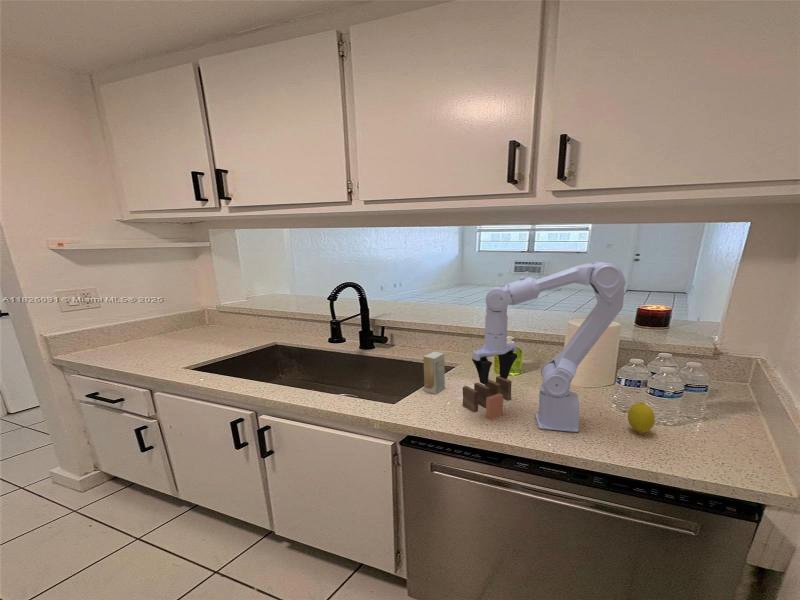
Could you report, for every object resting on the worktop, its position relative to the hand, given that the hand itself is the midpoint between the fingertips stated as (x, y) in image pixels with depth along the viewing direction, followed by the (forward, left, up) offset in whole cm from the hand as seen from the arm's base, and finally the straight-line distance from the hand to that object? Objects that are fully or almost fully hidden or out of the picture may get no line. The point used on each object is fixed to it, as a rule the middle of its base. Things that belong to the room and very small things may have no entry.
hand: (493, 380), depth 99 cm
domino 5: (-3, -13, -11) cm, 17 cm away
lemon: (-35, +2, -11) cm, 37 cm away
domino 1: (+7, -4, -11) cm, 13 cm away
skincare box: (+19, -15, -11) cm, 26 cm away
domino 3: (0, -10, -11) cm, 14 cm away
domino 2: (+3, -7, -11) cm, 13 cm away
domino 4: (0, 0, -11) cm, 11 cm away
